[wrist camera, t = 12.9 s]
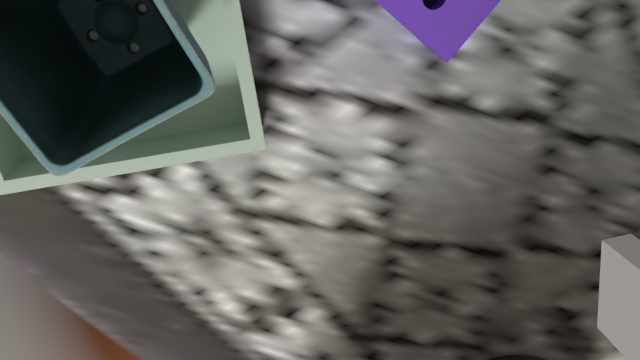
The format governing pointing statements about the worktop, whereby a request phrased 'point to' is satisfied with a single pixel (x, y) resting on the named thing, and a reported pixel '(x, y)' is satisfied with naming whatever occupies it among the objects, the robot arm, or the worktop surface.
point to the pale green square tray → (179, 130)
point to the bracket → (440, 21)
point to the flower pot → (94, 74)
